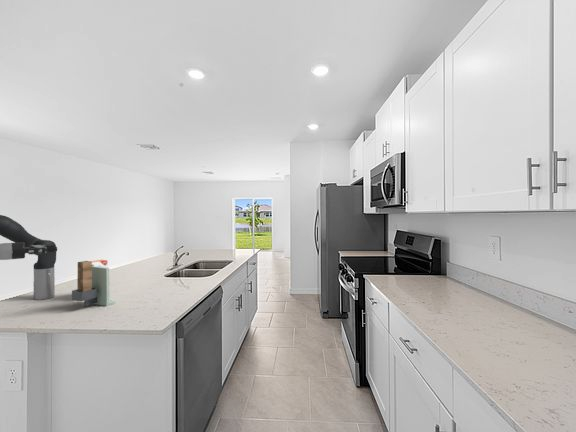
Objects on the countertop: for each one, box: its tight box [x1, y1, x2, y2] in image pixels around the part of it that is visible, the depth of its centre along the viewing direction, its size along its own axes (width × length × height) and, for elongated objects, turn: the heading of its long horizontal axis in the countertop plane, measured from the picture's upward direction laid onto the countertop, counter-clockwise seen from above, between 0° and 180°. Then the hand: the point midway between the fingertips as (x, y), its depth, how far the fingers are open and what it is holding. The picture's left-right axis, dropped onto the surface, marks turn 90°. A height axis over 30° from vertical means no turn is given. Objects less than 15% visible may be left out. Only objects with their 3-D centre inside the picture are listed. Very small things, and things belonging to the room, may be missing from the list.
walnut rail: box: [77, 260, 93, 292], centre depth 152 cm, size 4×4×18 cm
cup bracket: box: [71, 266, 117, 307], centre depth 155 cm, size 16×15×20 cm
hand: (56, 248), depth 144 cm, fingers open, 8 cm apart
